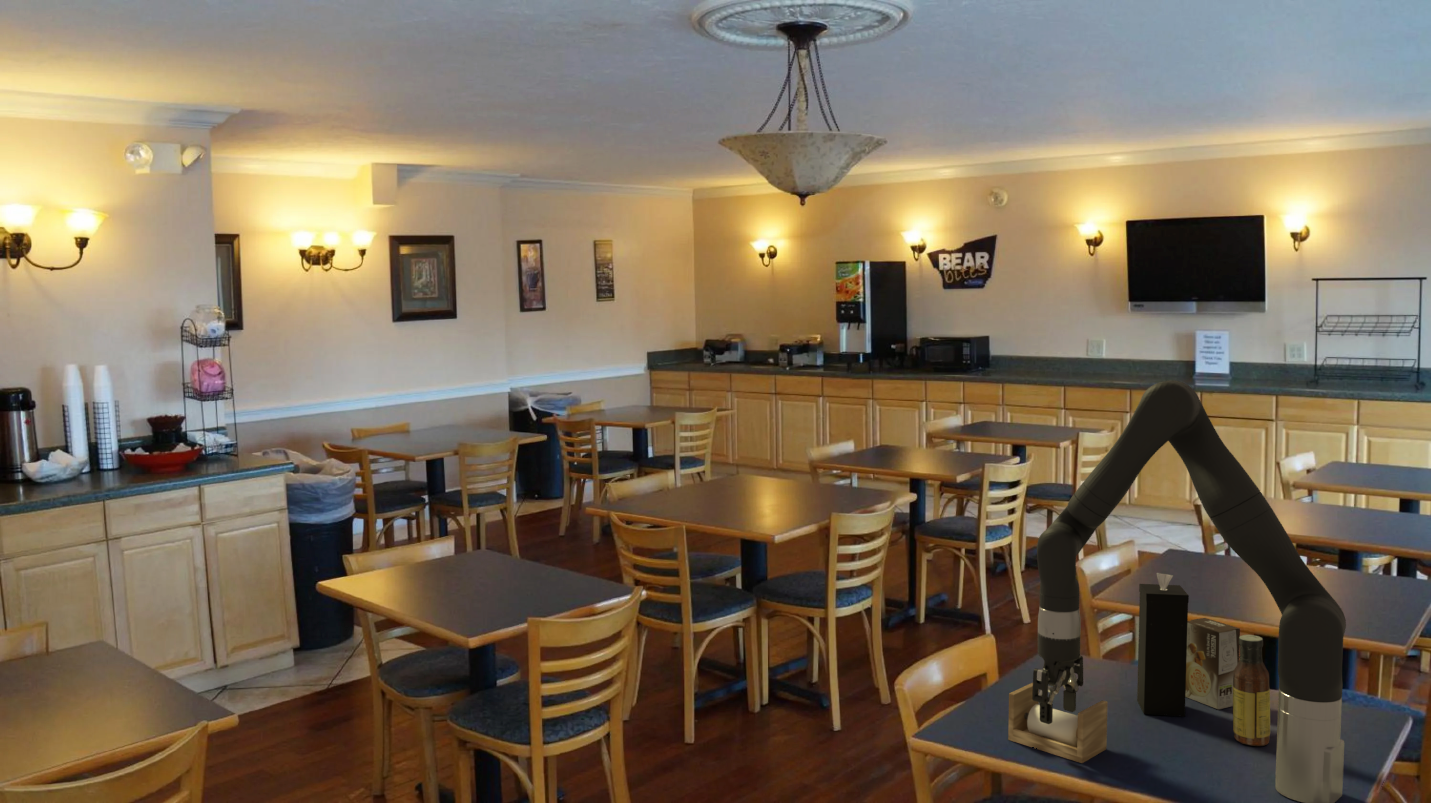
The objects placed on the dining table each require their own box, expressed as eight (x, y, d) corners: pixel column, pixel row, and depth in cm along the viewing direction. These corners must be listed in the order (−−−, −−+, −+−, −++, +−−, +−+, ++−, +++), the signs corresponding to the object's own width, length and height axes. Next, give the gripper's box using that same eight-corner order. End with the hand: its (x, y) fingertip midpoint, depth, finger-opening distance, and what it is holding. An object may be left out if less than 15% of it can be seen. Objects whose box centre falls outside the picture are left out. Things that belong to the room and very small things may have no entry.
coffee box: (1240, 705, 223) (1242, 628, 221) (1217, 710, 220) (1220, 632, 219) (1202, 690, 231) (1205, 616, 230) (1181, 695, 228) (1183, 620, 227)
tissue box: (1185, 717, 216) (1189, 578, 214) (1143, 714, 218) (1146, 577, 215) (1176, 703, 224) (1180, 569, 222) (1136, 700, 226) (1139, 567, 223)
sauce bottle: (1265, 736, 207) (1269, 633, 205) (1273, 749, 201) (1277, 643, 199) (1228, 733, 208) (1231, 631, 207) (1234, 745, 202) (1237, 641, 201)
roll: (1089, 741, 202) (1089, 713, 201) (1075, 752, 198) (1074, 723, 197) (1039, 726, 209) (1039, 699, 208) (1024, 736, 205) (1024, 708, 205)
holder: (1106, 748, 201) (1107, 701, 201) (1082, 763, 195) (1083, 714, 194) (1033, 726, 212) (1034, 681, 211) (1008, 739, 206) (1008, 693, 205)
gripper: (1057, 643, 194) (1056, 732, 196) (1096, 627, 204) (1095, 711, 205) (1020, 635, 200) (1019, 721, 201) (1060, 619, 209) (1059, 701, 211)
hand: (1058, 716), depth 203 cm, fingers open, 8 cm apart
